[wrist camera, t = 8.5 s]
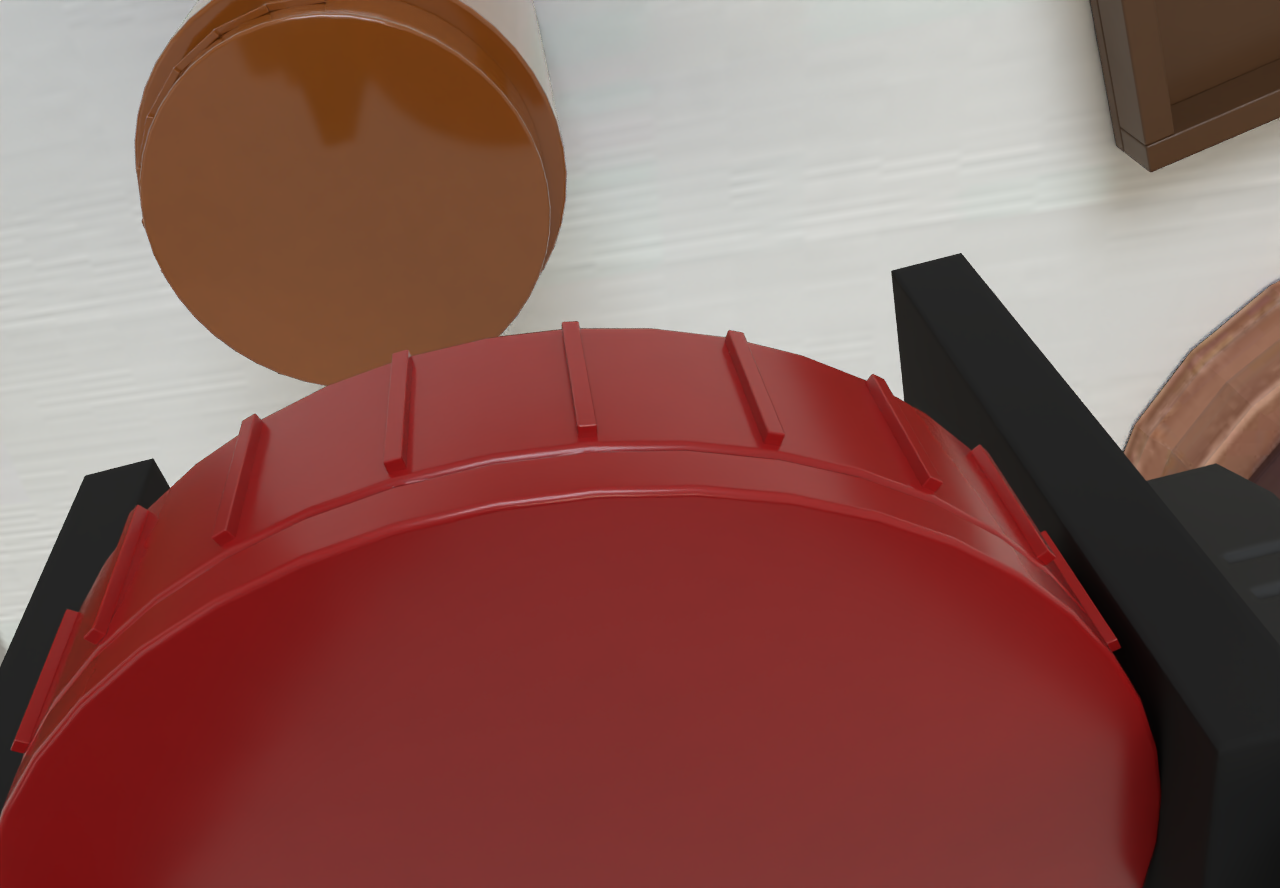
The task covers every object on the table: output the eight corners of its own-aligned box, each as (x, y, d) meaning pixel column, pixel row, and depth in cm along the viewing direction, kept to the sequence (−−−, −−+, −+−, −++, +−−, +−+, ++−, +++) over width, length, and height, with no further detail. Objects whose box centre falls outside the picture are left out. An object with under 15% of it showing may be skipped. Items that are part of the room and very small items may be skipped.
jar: (151, -38, 27) (8, 114, 18) (448, -188, 26) (443, -101, 18) (328, 238, 31) (279, 466, 23) (589, 117, 30) (640, 307, 22)
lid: (917, 1008, 13) (976, 1185, 11) (113, 1048, 11) (62, 1258, 10) (1221, 351, 8) (1384, 504, 7) (-42, 275, 7) (-177, 452, 5)
